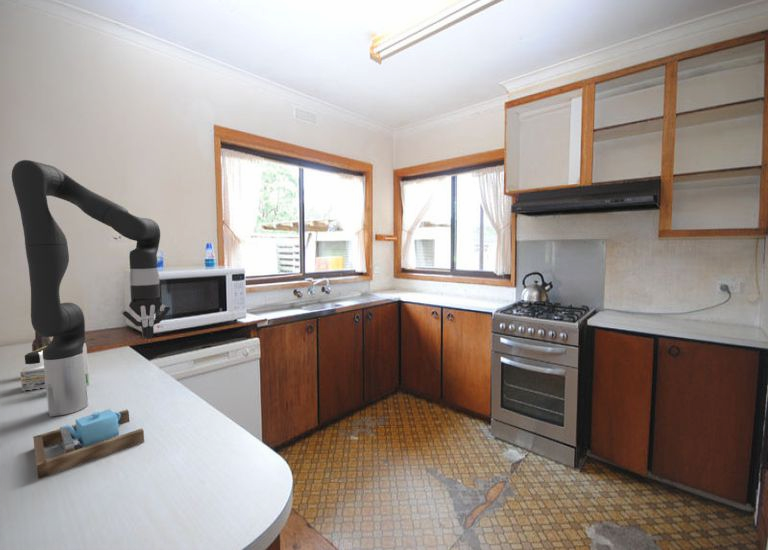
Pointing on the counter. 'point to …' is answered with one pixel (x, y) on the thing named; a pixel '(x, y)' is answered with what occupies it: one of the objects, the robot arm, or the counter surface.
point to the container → (33, 371)
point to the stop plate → (66, 440)
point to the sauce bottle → (40, 342)
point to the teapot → (96, 427)
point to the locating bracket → (84, 453)
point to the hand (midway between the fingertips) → (148, 338)
